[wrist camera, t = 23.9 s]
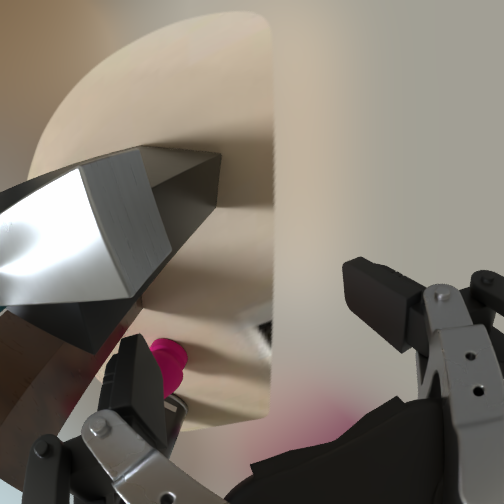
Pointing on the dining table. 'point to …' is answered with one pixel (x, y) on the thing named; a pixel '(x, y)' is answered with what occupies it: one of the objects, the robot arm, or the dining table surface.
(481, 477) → the robot arm
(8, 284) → the handle bar
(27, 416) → the plinth
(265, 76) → the dining table surface
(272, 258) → the dining table surface
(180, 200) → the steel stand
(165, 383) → the pepper mill
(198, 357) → the dining table surface
